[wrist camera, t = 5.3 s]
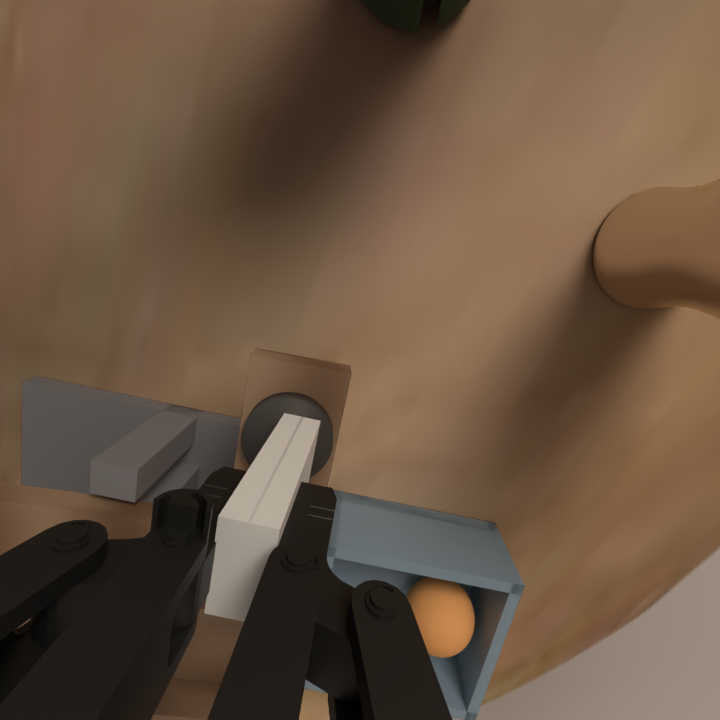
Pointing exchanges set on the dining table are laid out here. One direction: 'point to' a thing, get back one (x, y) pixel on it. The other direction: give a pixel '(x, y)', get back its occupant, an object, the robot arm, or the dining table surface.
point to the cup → (437, 560)
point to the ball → (442, 615)
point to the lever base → (118, 442)
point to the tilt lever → (133, 520)
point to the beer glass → (663, 249)
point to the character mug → (412, 11)
